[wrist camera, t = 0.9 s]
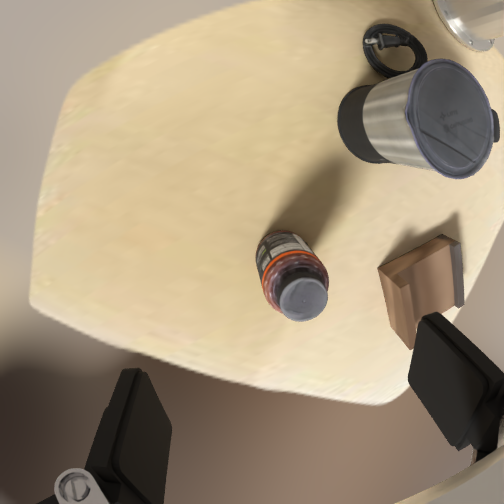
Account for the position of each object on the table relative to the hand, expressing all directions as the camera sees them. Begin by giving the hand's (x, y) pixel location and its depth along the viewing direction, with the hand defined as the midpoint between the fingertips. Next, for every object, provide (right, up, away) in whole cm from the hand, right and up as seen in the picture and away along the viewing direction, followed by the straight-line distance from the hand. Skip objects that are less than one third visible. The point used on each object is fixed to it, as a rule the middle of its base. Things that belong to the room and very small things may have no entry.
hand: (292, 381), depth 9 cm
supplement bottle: (+2, +4, +25) cm, 26 cm away
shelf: (+21, 0, +28) cm, 35 cm away
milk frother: (+13, +22, +20) cm, 33 cm away
